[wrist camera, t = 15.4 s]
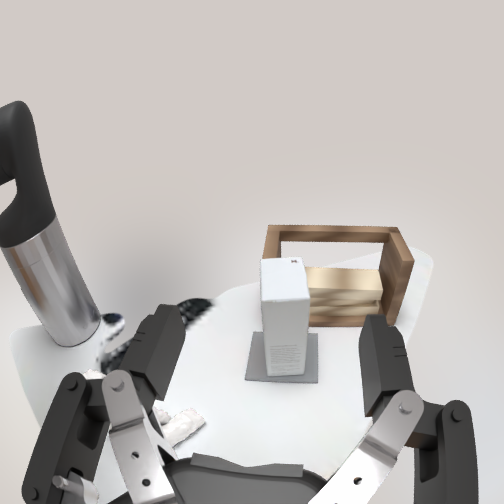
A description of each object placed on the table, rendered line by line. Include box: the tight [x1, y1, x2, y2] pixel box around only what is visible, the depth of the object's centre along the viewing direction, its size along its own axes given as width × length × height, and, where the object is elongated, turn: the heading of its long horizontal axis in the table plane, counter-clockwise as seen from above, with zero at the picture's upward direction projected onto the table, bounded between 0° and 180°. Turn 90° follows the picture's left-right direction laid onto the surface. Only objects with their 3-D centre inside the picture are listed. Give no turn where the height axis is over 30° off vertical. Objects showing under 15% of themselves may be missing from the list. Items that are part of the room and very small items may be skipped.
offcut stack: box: [305, 267, 383, 316], centre depth 36 cm, size 12×5×5 cm, turn 82°
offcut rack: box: [262, 225, 414, 327], centre depth 36 cm, size 17×8×10 cm, turn 82°
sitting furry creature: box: [83, 369, 205, 447], centre depth 21 cm, size 10×9×12 cm
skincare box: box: [260, 257, 310, 377], centre depth 29 cm, size 6×4×12 cm
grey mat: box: [245, 332, 318, 383], centre depth 33 cm, size 8×7×1 cm
